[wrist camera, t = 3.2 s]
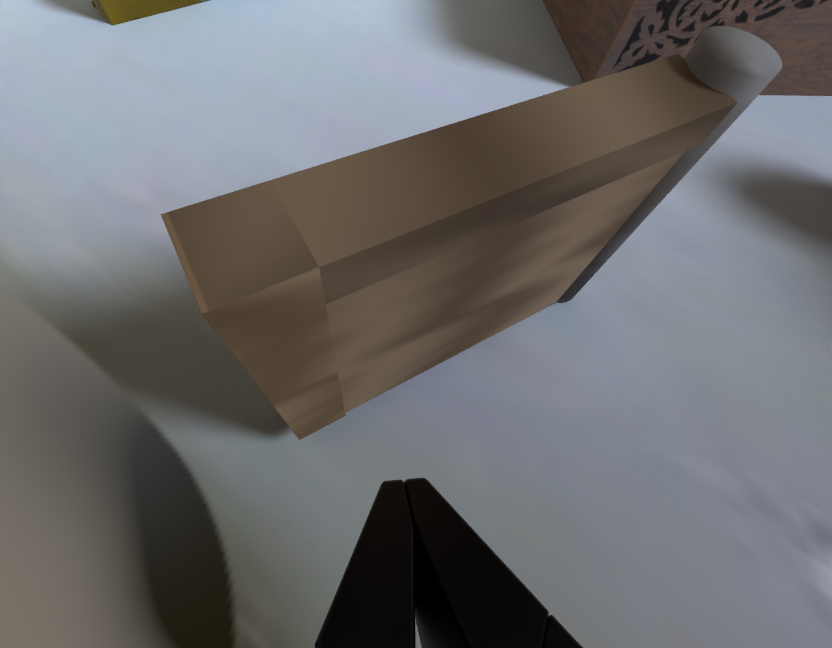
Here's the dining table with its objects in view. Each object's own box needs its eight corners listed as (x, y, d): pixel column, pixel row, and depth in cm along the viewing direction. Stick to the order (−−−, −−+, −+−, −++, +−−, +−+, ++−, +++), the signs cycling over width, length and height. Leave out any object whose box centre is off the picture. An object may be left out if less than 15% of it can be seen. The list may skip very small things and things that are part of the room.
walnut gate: (558, 261, 20) (735, 19, 10) (584, 292, 19) (798, 65, 10) (280, 395, 16) (145, 191, 6) (301, 442, 15) (188, 296, 5)
